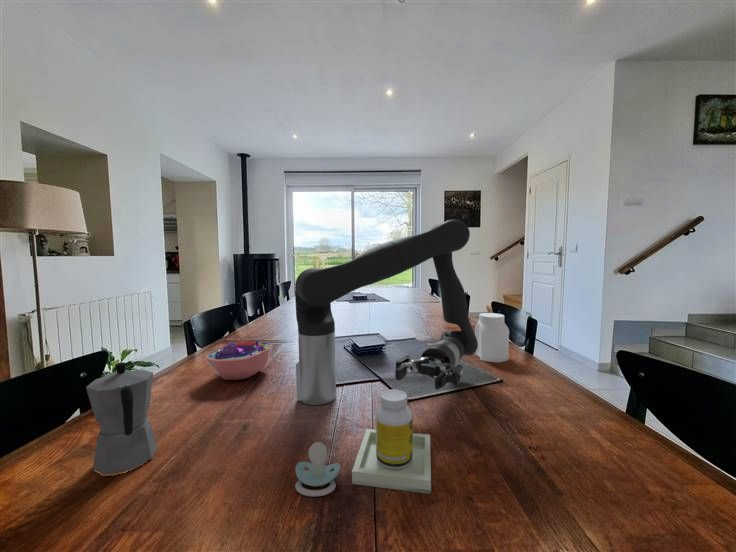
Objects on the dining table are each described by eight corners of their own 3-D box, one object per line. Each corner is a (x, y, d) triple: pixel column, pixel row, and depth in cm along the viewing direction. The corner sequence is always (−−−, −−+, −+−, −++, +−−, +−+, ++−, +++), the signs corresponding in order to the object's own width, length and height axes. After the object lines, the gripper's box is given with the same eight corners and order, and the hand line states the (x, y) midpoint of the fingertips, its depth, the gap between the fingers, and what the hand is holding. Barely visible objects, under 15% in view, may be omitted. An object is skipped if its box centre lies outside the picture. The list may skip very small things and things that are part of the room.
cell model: (286, 370, 99) (285, 335, 99) (229, 395, 83) (227, 353, 82) (252, 361, 108) (250, 329, 108) (194, 381, 92) (192, 343, 91)
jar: (512, 362, 105) (513, 318, 104) (483, 362, 105) (484, 318, 104) (497, 351, 116) (498, 311, 115) (472, 352, 116) (472, 312, 115)
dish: (352, 483, 50) (351, 471, 50) (366, 438, 62) (366, 428, 62) (430, 494, 48) (430, 480, 48) (430, 445, 60) (430, 434, 60)
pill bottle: (411, 473, 51) (411, 405, 50) (372, 468, 53) (372, 402, 52) (413, 449, 58) (413, 388, 57) (379, 445, 59) (378, 385, 58)
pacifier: (335, 501, 47) (342, 472, 53) (334, 462, 46) (341, 437, 52) (288, 498, 48) (300, 470, 53) (286, 460, 47) (299, 435, 53)
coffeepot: (90, 454, 58) (83, 360, 57) (151, 434, 65) (146, 349, 63) (94, 501, 47) (85, 385, 46) (167, 471, 53) (161, 368, 52)
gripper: (414, 339, 81) (385, 356, 67) (470, 347, 74) (451, 368, 60) (414, 367, 82) (385, 390, 68) (469, 378, 75) (450, 406, 61)
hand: (416, 380), depth 64 cm, fingers open, 8 cm apart
